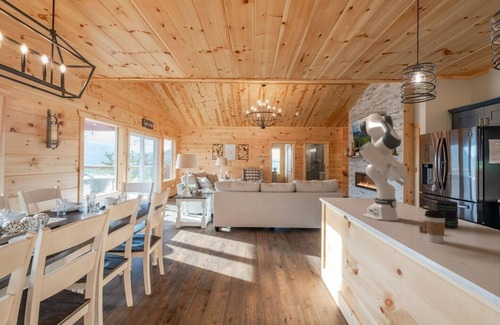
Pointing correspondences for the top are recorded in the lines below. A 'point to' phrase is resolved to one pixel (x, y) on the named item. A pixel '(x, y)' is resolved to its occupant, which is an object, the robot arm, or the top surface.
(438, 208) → the storage jar
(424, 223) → the lettered cube
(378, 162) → the robot arm
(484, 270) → the top surface
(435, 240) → the coffee cup
